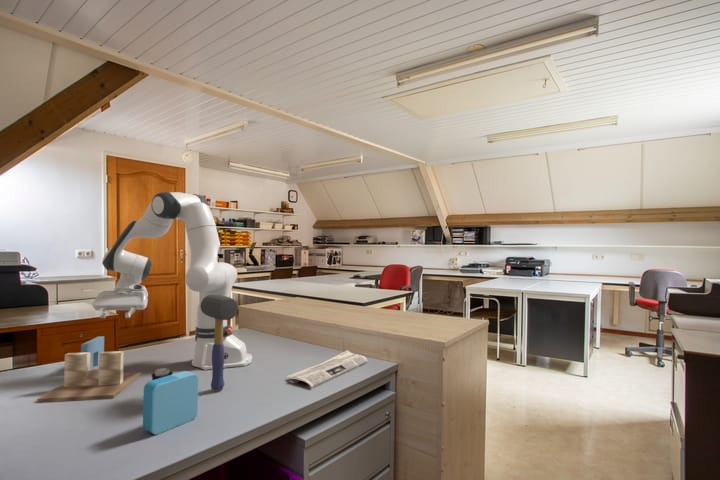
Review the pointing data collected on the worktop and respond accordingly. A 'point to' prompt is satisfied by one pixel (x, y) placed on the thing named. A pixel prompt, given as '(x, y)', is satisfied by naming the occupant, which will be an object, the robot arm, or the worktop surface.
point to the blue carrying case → (170, 402)
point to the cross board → (88, 391)
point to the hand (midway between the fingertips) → (114, 317)
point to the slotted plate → (94, 349)
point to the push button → (161, 373)
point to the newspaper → (329, 369)
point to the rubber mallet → (218, 332)
